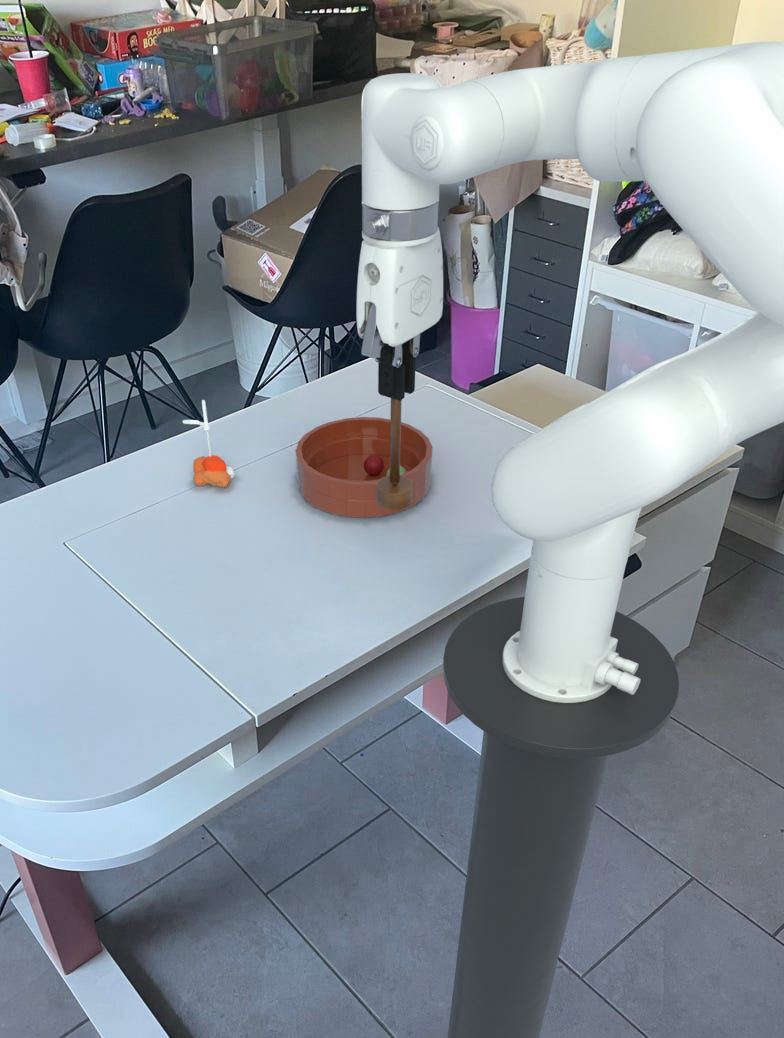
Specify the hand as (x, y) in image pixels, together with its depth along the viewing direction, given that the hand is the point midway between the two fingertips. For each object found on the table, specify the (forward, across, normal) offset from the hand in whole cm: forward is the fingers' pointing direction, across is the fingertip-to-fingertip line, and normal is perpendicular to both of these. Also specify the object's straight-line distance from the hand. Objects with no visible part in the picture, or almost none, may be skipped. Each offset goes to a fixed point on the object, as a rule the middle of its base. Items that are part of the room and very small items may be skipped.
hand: (396, 392), depth 105 cm
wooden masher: (+14, 0, 0) cm, 14 cm away
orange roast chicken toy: (+26, +5, +37) cm, 45 cm away
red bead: (+24, +19, +17) cm, 35 cm away
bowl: (+26, +17, +17) cm, 35 cm away
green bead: (+24, +19, +12) cm, 33 cm away
